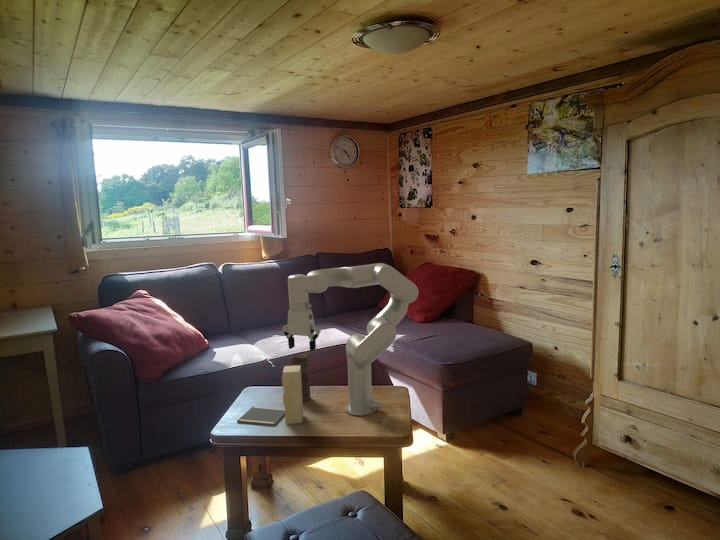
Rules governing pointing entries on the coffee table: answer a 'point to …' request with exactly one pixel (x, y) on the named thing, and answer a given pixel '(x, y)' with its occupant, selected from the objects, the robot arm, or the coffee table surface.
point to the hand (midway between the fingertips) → (302, 348)
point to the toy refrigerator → (292, 394)
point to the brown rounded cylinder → (303, 374)
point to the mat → (262, 416)
